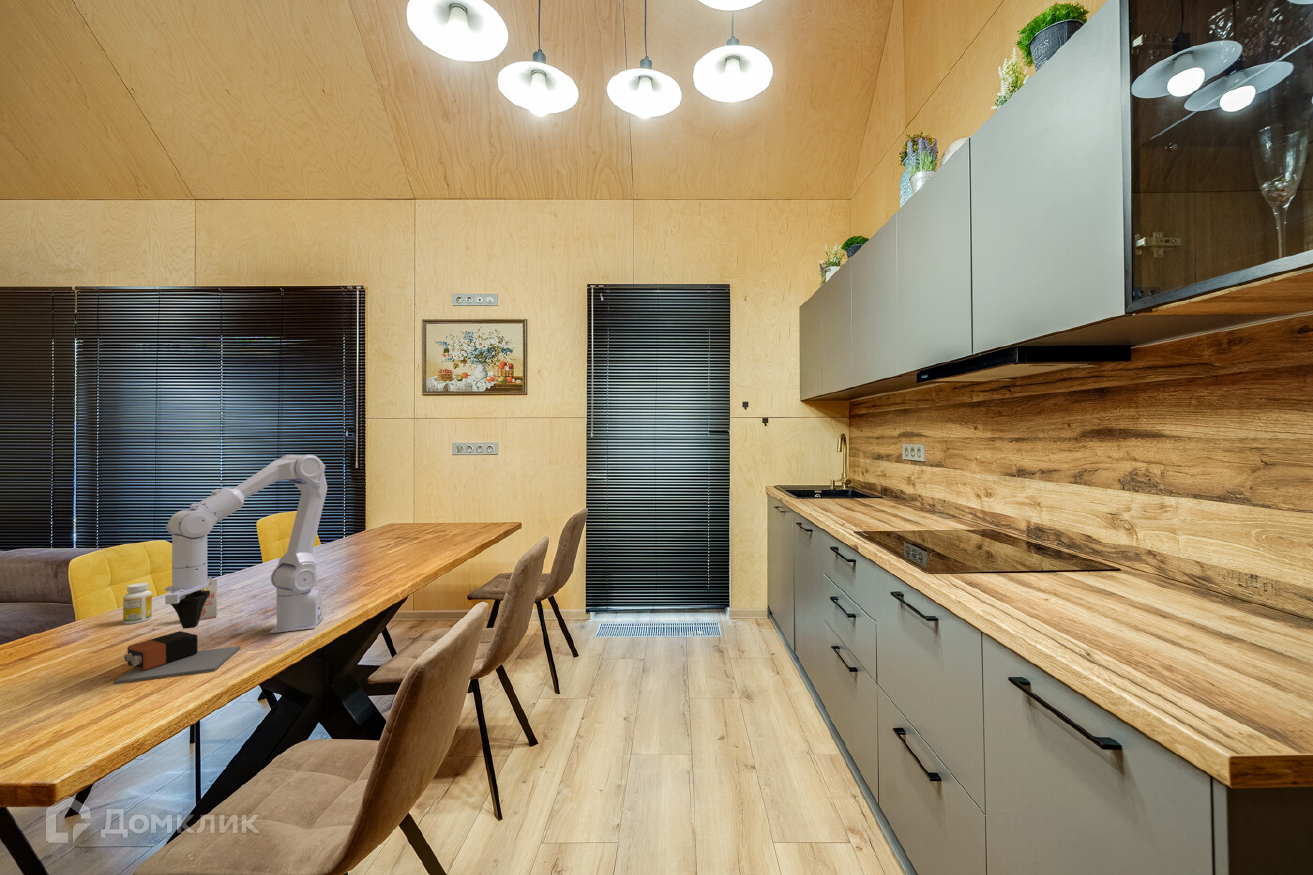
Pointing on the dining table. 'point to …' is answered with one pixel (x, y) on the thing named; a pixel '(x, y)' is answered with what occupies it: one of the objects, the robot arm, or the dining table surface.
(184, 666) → the mat
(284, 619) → the robot arm
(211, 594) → the white carton box
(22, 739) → the dining table surface
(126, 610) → the supplement bottle
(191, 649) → the battery
